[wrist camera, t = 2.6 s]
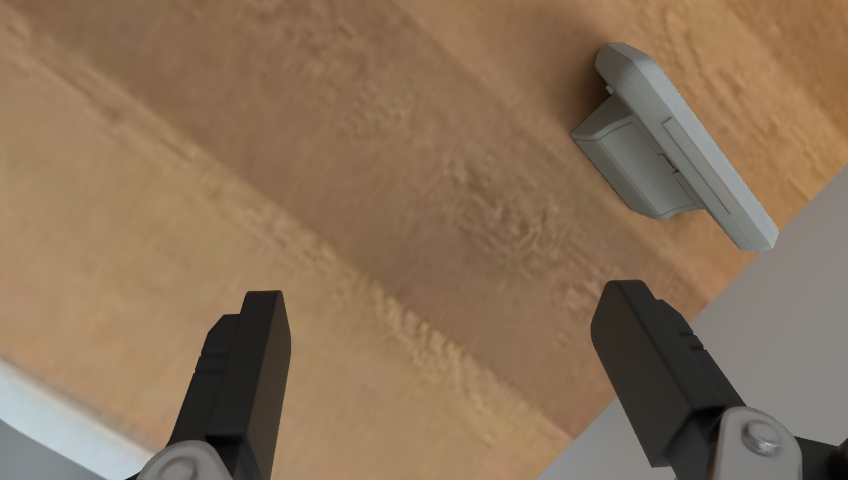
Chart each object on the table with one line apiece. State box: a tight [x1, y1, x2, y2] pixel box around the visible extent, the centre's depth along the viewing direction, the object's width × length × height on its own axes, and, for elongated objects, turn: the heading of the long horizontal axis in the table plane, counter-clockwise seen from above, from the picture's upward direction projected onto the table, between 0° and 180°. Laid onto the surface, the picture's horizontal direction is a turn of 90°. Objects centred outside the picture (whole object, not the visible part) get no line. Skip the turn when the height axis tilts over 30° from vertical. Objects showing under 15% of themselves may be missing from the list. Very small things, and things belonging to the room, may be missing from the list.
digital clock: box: [570, 42, 779, 253], centre depth 33 cm, size 16×9×11 cm, turn 32°
